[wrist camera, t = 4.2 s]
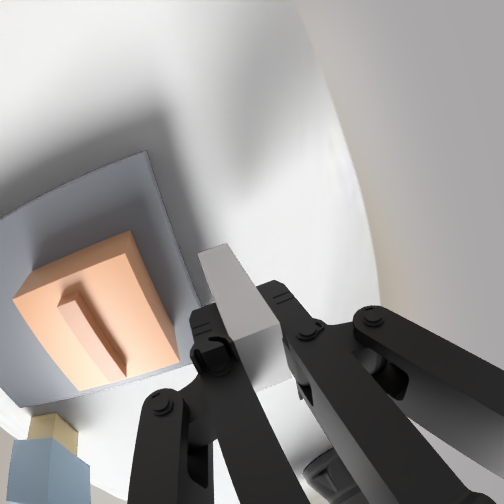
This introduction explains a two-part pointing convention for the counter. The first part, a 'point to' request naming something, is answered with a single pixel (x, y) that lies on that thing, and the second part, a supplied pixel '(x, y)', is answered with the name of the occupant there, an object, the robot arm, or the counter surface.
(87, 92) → the counter surface
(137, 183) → the socket plate
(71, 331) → the orange ridged block
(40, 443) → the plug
